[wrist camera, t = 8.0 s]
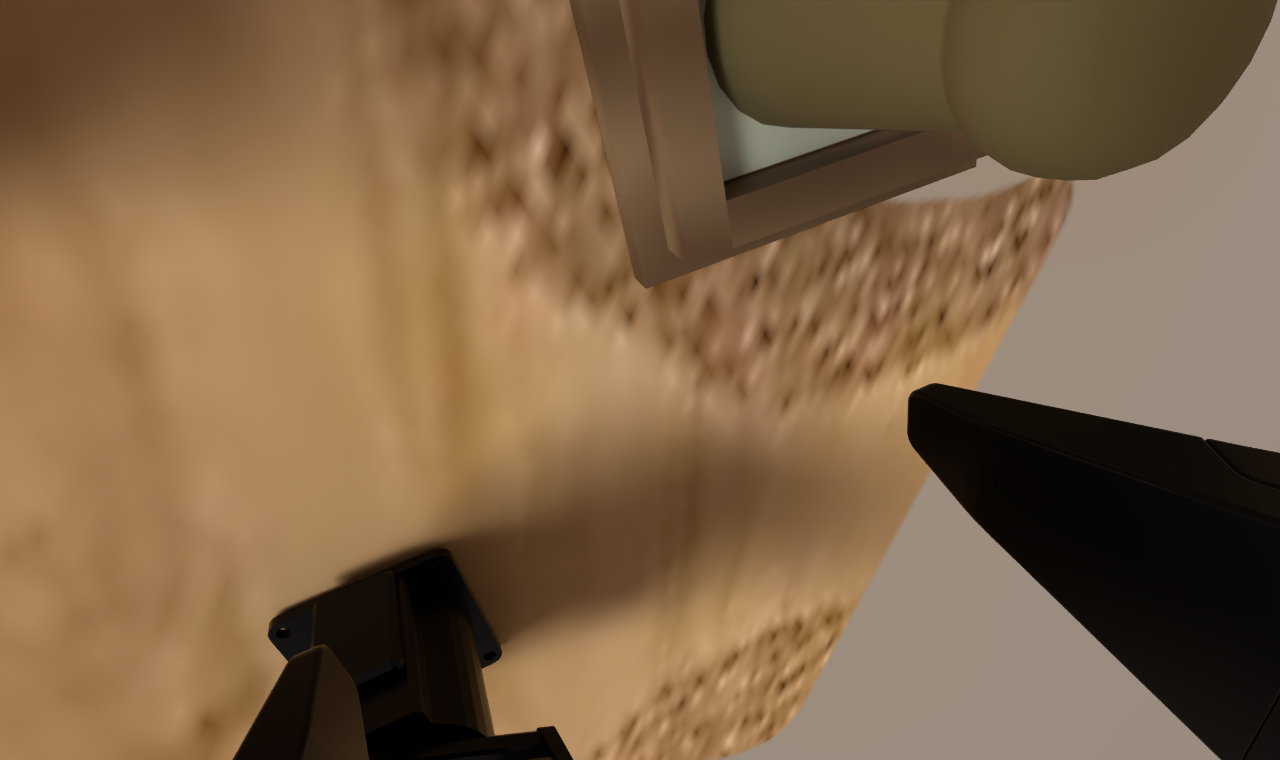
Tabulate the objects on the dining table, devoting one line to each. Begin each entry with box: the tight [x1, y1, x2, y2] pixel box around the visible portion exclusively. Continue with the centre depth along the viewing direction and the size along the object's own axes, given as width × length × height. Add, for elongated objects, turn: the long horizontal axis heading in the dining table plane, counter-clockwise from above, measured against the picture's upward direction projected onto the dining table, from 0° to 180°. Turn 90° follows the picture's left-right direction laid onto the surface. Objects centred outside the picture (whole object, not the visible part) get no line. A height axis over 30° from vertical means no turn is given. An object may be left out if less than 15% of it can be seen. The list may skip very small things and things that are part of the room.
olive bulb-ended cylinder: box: [704, 0, 1277, 180], centre depth 14 cm, size 6×6×11 cm
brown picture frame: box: [570, 0, 987, 289], centre depth 19 cm, size 13×13×2 cm
